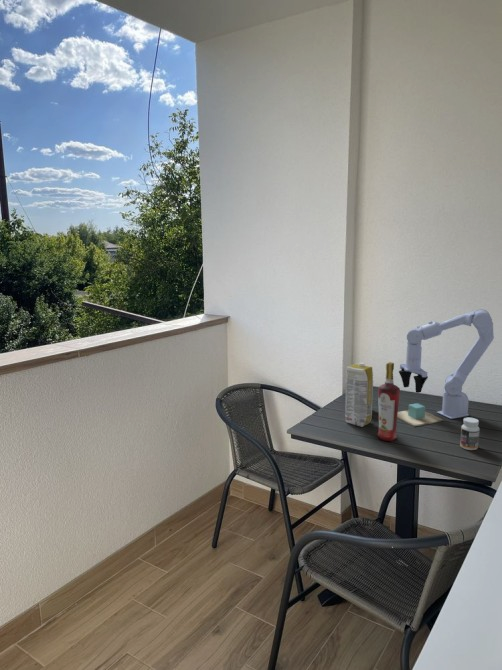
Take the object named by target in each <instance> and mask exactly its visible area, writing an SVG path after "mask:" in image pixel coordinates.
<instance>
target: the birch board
mask: <svg viewBox="0 0 502 670" xmlns="http://www.w3.org/2000/svg"><path fill="white" fill-rule="evenodd" d="M397 420H401V421H402V422H404V423H406V424H408V425H410V426H412V427H420V426H424V425H430V424H435V423H440V422H443V421H444V419H443V418H441V417H438V416H436V415H434V414H432V413H429V412H427V411H426V410H425V417H424V418H419V419H414V418H412V417H410V416H408V409H407V410H402V411H398V413H397Z"/></svg>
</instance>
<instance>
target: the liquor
mask: <svg viewBox="0 0 502 670" xmlns="http://www.w3.org/2000/svg"><path fill="white" fill-rule="evenodd" d="M394 366H395V363H394V362H391V361H387V362H385V380H384V383H383V384H380V385H379V386H378V390H377V391H378V392H377V393H378V394H377V395H378V399H377V401H378V402H377V403H378V432H377V434H376V436H378V438H380V440H382V441H385V442H392V441H394V440H395V439H397V438H398V435H397V425H398V418H397V413H398V412H399V403H400V392H401V391H400V389H401V388H400V387H399V386H398V385H396V384H395V383H394V369H395V367H394Z"/></svg>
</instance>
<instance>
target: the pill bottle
mask: <svg viewBox="0 0 502 670" xmlns="http://www.w3.org/2000/svg"><path fill="white" fill-rule="evenodd" d="M462 421H463V424H462V425H461V426H460V428H461V429H460V438H459V439H460V441H459V446H460V447H461V448H462V449H465V450H468V451H475V450H478V448H479V441H480V431H481V429H480V427H479V423H480V421H479V419H478V418H474V417H468V416H467V417H463V420H462Z"/></svg>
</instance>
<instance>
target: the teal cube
mask: <svg viewBox="0 0 502 670" xmlns="http://www.w3.org/2000/svg"><path fill="white" fill-rule="evenodd" d="M407 406H408V409H407V410H408V416H410V417H412V418H414V419H419V418H424V417H425V411H426V406H425V405H422V404H421V403H419V402H415V403H411V404H410V403H409V404H408V405H407Z"/></svg>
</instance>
